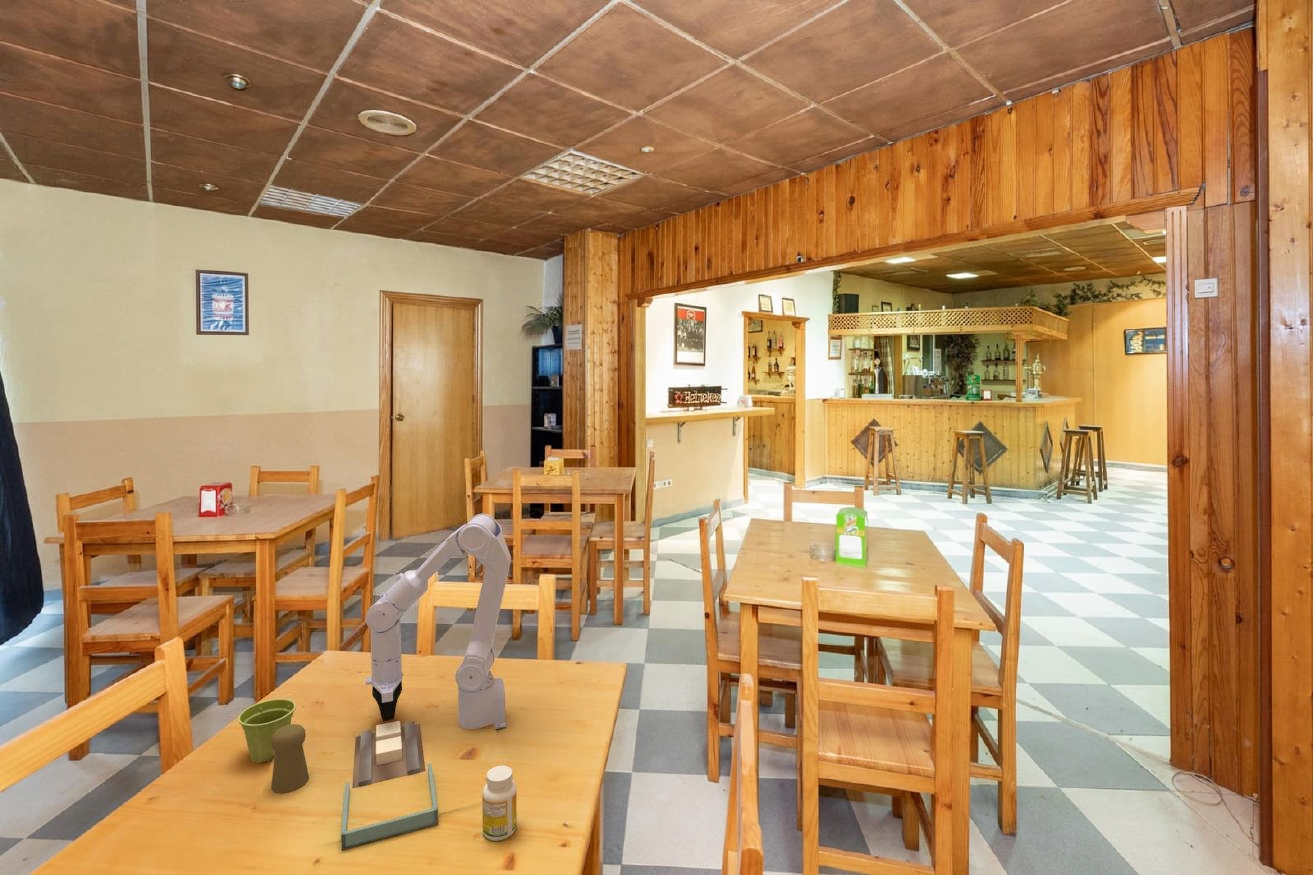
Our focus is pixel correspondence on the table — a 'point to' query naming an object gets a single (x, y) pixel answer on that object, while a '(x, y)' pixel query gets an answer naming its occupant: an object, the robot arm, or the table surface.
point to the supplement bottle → (499, 804)
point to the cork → (289, 759)
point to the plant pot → (265, 726)
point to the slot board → (373, 773)
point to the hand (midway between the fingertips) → (388, 718)
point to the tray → (388, 822)
